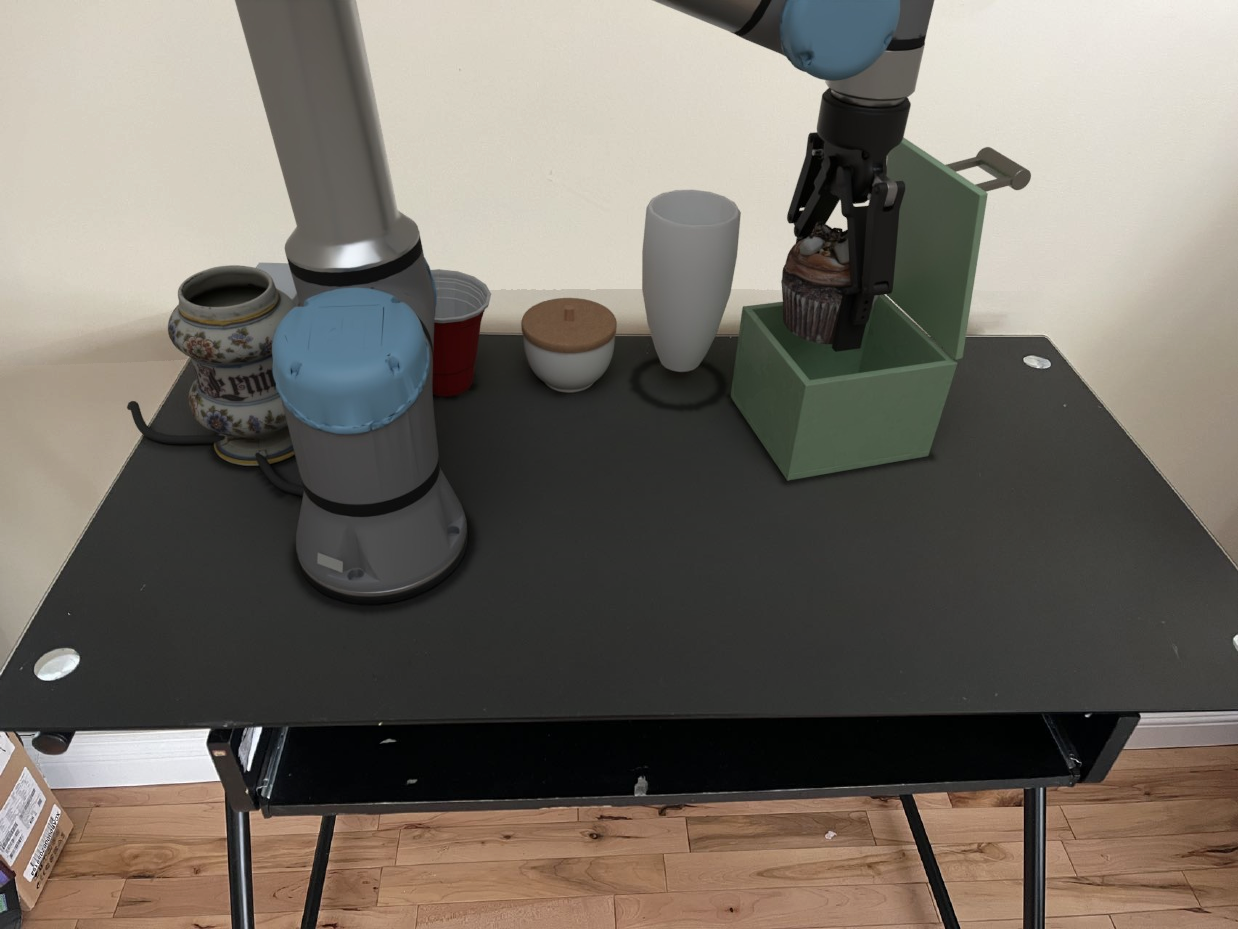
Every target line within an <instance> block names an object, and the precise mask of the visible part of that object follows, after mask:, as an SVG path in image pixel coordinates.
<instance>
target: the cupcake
mask: <svg viewBox="0 0 1238 929" xmlns="http://www.w3.org/2000/svg"><path fill="white" fill-rule="evenodd" d="M813 228H814V229H813V232H812V233H811V234H810V235H809V236H808V237H807V238H806V239H803V240H801V241H798V242H797V243H796V242H795V243H794V244H793V246H792V247H791V248H790V250H789V251H788V253H787V256H786V259H785V264H784V265H783V268H782V272H781V273H782V274H781V281H780V282H781V294H782V295H781V297H782V302H783V322H784V324H785V326H786V327H787V329H788V330H789V331H790V332H792V333H793V334H794V335H796V336H798V337H800V338H802V339H805V340H807V341H811V342H816V343H820V344H833V340H834V335H835V330H836V325H837V321H838V316H839V311H840V306H841V302H842V297H843V292H844V289H843V288H844V287H851V283H850V265H849V248H848V231H847V229H845V230H844V229H843V228H841V227H833V228H832V227H831V226H829V225H828V224H827V223H826V224H824V223H823V221H822V220H821V221H819V222H816V224H815V225H814V226H813ZM862 279H863V277H862ZM877 297H878V295H876V296H874V300H873V304H872V307H873V305H874V303H875V301H876V299H877ZM871 310H872V308H871Z"/></svg>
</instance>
